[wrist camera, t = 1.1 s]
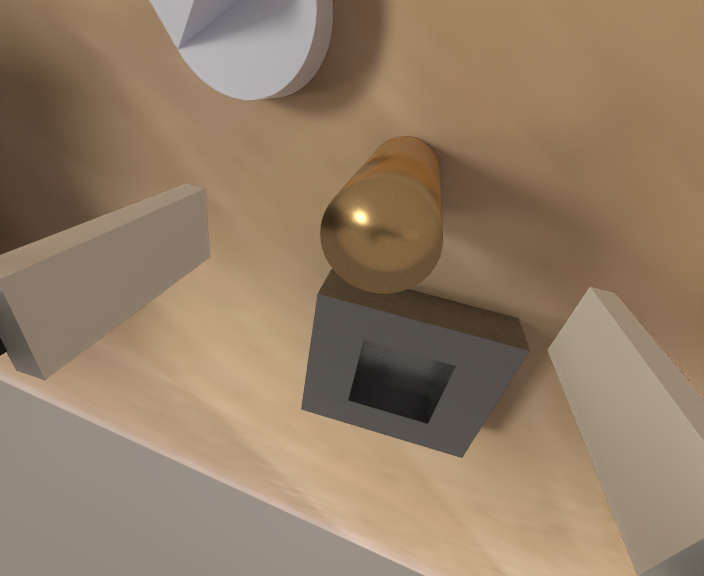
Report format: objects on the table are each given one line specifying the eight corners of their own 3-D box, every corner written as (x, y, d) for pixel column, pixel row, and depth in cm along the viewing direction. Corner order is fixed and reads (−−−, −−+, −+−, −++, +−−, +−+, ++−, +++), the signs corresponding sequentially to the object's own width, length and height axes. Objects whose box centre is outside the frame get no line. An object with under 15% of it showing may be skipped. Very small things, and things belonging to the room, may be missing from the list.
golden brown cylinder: (362, 200, 25) (314, 277, 15) (376, 129, 23) (328, 164, 13) (427, 216, 25) (422, 306, 15) (450, 145, 22) (461, 196, 12)
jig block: (313, 379, 37) (301, 409, 33) (331, 269, 29) (317, 293, 26) (459, 422, 35) (462, 457, 32) (518, 318, 28) (529, 351, 24)
